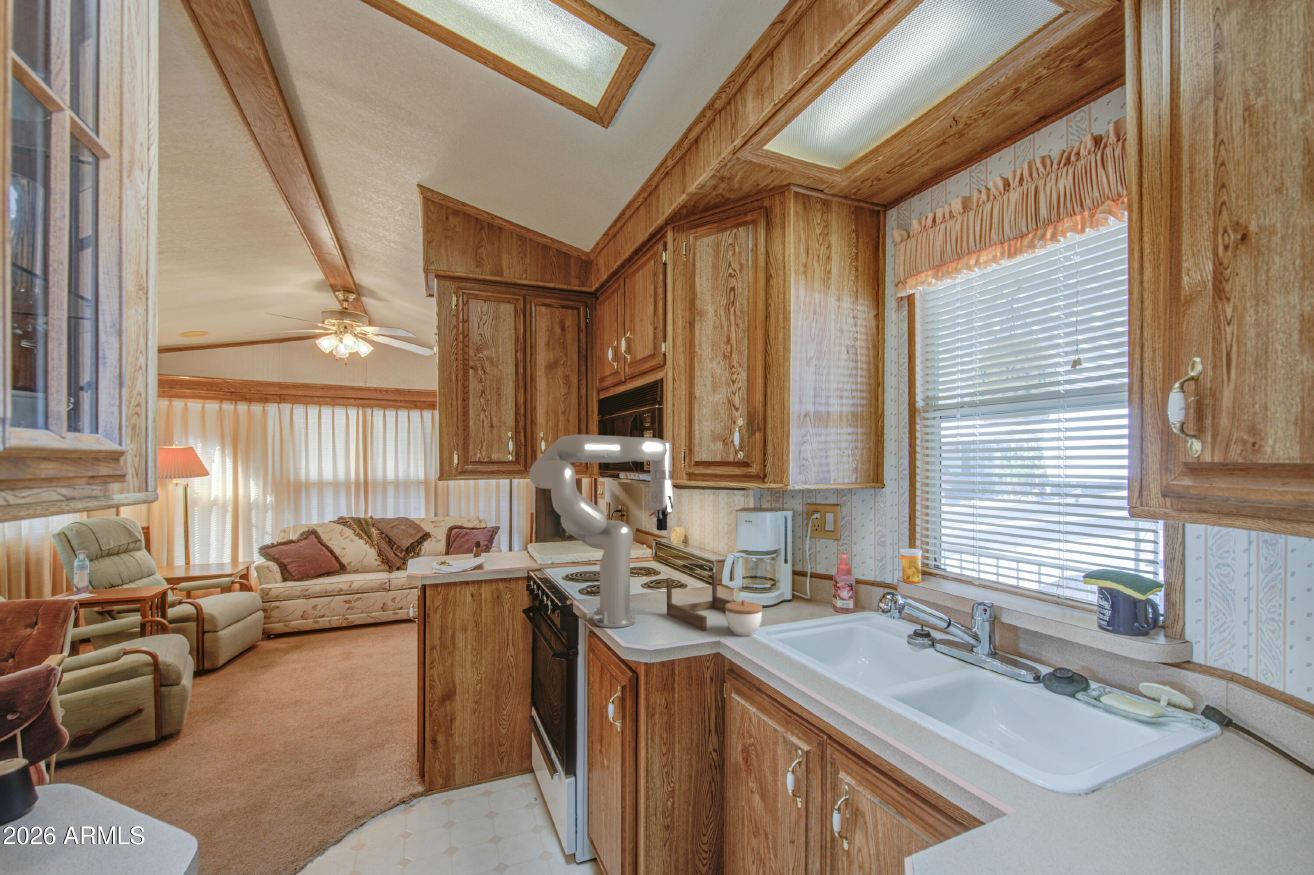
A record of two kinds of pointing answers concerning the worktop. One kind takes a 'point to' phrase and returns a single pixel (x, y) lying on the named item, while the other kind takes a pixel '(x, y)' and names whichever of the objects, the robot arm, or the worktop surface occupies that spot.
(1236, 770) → the worktop surface
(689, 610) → the wooden dowel stand
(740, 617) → the lidded jar
